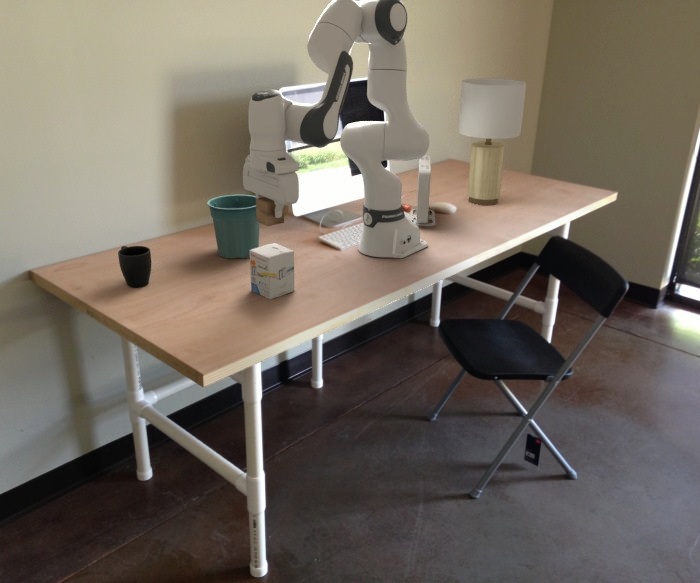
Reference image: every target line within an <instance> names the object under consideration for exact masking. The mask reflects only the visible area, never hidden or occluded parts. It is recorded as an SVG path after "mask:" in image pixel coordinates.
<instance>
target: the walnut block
mask: <svg viewBox="0 0 700 583" xmlns="http://www.w3.org/2000/svg"><path fill="white" fill-rule="evenodd" d="M275 207H276V205H275V203H274V200H271V199H269V198H266V197H262V198H257V199H256V215H257V222H259V223H260V224H261V225H264V226H265V227H272V226H275V225H279V224H280V225H281V224H284V223H285V210H284V208H285V206H284V207H283V209H282V217H280V218H276V217H274V216H273V210H275Z"/></svg>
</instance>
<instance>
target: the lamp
mask: <svg viewBox="0 0 700 583" xmlns="http://www.w3.org/2000/svg"><path fill="white" fill-rule="evenodd" d="M526 88H527V82H526V81H524V80H518V79H507V78H492V77H491V78H489V77H488V78H487V77H486V78H484V77H483V78H467V79H463V80H462V82H461V90H460V91H461V94H460V104H459V115H458V116H459V119H458V133H459V134H460V135H463V136H465V137H470V138H476V139H485V141H475V142H472V143H471V145H470V146H471V147H470V160H469V172H468V181H467V182H468V185H467V194H466V195H467V196H468V202H469V203H470V202H471V203H470V204H473V203H474V204H473V205H476V204H478V206H494V205H497V204H498V201H499V198H500V197H501V196H500V195H501V189H502V188H501V187H502V179H503V168H504V158H505V148H506V145H505V144H504V143H501V142H496V141H492V139H493V140H504V139H514V138H518V137H520V136H521V134H522V133H521V132H522V125H523V118H524V110H525V109H524V108H525V101H526V100H525V99H526Z"/></svg>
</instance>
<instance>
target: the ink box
mask: <svg viewBox="0 0 700 583" xmlns="http://www.w3.org/2000/svg"><path fill="white" fill-rule="evenodd" d="M249 252H250V257H249V264H250V265H249V268H250V269H249V270H250V286H251V287H250V288H251V289H250V290H251V291H252V292H254V293H256V294H258V295H261V296H263V297H265V298H267V299H269V300H273V299H275V298H279V297H282V296H284V295H286V294H289V293H293V292H295V291H296V290H295V288H296V286H295V251H294V250H292V249H291V248H289V247H285V246H283V245H281V244H279V243H276V242H273V243H268V244H264V245H262V246H261V245H260V246H259V247H258V248H255V249H251V250H249Z"/></svg>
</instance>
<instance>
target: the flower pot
mask: <svg viewBox="0 0 700 583" xmlns="http://www.w3.org/2000/svg"><path fill="white" fill-rule="evenodd" d="M207 206H208V207H209V211H210V212H209V213H210V216H211V218H212V222H213V228H214V229H213V230H214V234H215V240H216V247H217V248H216V249H217V252H218V255H219V256H221V257H222V258H225V259H231V260H232V259H235V258H239V259H247V258H250V252H249V250H251V249H255V248H258V247H260V228H261V227H260V224H261V223H259V222H257V215H256V195H249V194H230V195H229V194H227V195H221V196H217V197H213V198H211V199H209V200H208V201H207Z"/></svg>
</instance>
